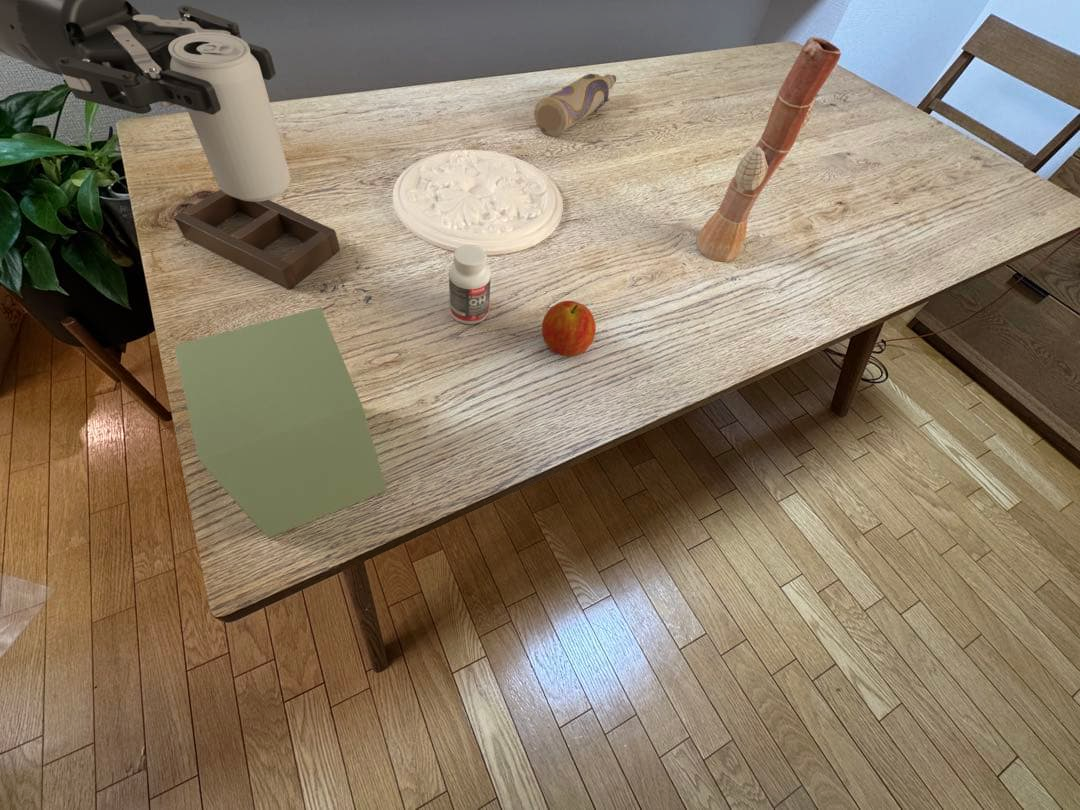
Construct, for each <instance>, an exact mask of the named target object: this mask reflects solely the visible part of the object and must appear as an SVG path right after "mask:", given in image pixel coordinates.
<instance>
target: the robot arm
mask: <svg viewBox="0 0 1080 810" xmlns="http://www.w3.org/2000/svg"><path fill="white" fill-rule="evenodd" d="M176 9H177V12H178V16H179V18H178V19H166V18H163V17H159V16H157V15H154V14H142V13H141V12H140V11H139V10H138V9H136V7H134V6H133V5H132V4H131V3H130V2H129V1H128V0H0V55H4V56H8V57H11V58H14V59H18V60H20V61H22V62H24V63H26V64H28V65H30V66H32V67H35V68H37V69H40V70H43V71H45V72H47V73H52V74H55V75H59V76H61V77H63V79H64V80H65V83H66V84H67V86H68V87H69V89H70V91H71V93H72V95H73V97H74V98H75V99H78V100H82V101H86V102H90V103H94V104H98V105H102V106H106V107H111V108H113V109H119V110H123V111H127V112H131V113H134V114H138V115H139V114H140V115H143V114H148V113H150V112H151V111H152V107H151V105H153V104H158V106H161V107H171V106H174V105H176V106H178V107H182V108H186V109H187V108H190V109H192V110H195V111H202V112H205V113H208V114H211V115H214V114H215V113H217V112H219V111H220V110H221V106H220V103H219V101H218V98H217V95H216V92H215V90H214V87H213V86H212V85H211V84H210V83H209V82H208V81H206V80H202V79H199V78H196V77H193V76H189V75H186V74H183V73H180V72H176V71H173V70H171V69H170V63H171V59H172V56H171V55H170V52H169V50H168V47H169V44H170V43H171V42H172V41H173V40H175V39H176V38H179V37H181V36H184V35H188V34H192V33H201V32H215V33H224V34H229V35H233V36H236V37H238V38H240V39H242V36H241V35H242V34H241V33H240V31H241V30H240V28H239V27H240V26H239V24H238V23H237V22H235V21H232V20H229V19H226V18H223V17H221V16H218V15H215V14H212V13H209V12H207V11H203V10H201V9H198V8H195V7H193V6H188V5H181V6H178V7H177V8H176ZM246 43H247V44H248V46H249V48H250V53H251V54H252V55H253V56H254V57H255V59H256V60H257V61H258V63H259V66H260V69H261V73H262V77H263V80H266V81H270V80H272V79H273V78H275V77H276V74H277V73H276V69H275V65H274V61H273V57H272V54H271V53H270V51H269V49H267V48H265V47H262V46H259V45H255V44H252V43H249V42H246ZM123 93H124V94H123Z"/></svg>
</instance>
